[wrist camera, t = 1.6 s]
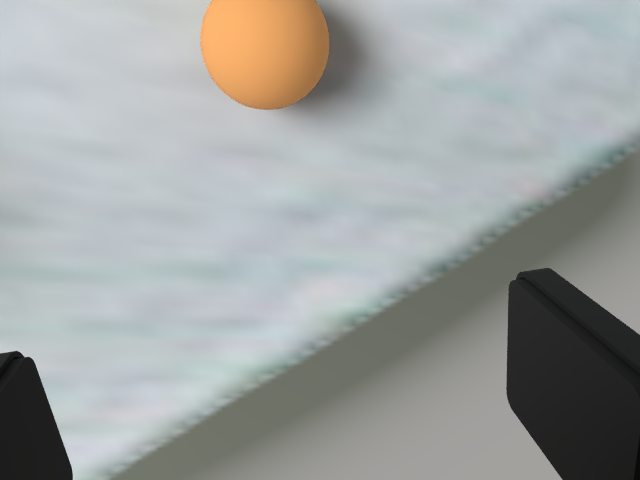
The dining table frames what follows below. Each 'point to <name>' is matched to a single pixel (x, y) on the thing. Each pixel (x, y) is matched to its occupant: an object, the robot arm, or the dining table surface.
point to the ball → (265, 49)
